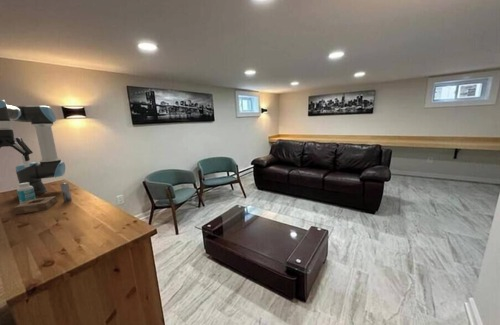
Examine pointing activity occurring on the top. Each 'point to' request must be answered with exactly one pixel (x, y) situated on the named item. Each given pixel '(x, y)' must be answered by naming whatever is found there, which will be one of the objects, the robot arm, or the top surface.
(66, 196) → the peg
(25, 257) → the top surface
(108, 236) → the top surface
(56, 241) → the top surface
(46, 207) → the socket block
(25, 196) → the pill bottle
